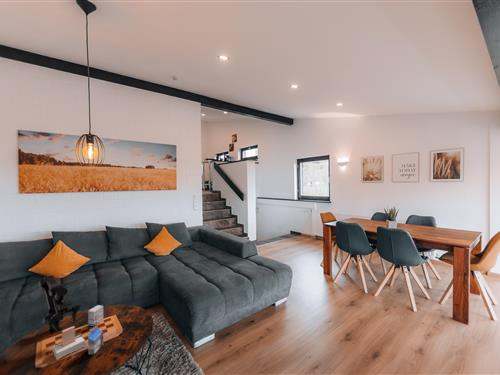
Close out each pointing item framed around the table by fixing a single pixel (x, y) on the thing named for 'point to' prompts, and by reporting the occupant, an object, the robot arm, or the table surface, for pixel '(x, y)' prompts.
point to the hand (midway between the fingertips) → (65, 326)
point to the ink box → (95, 315)
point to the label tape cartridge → (95, 341)
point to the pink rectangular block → (68, 336)
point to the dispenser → (68, 347)
